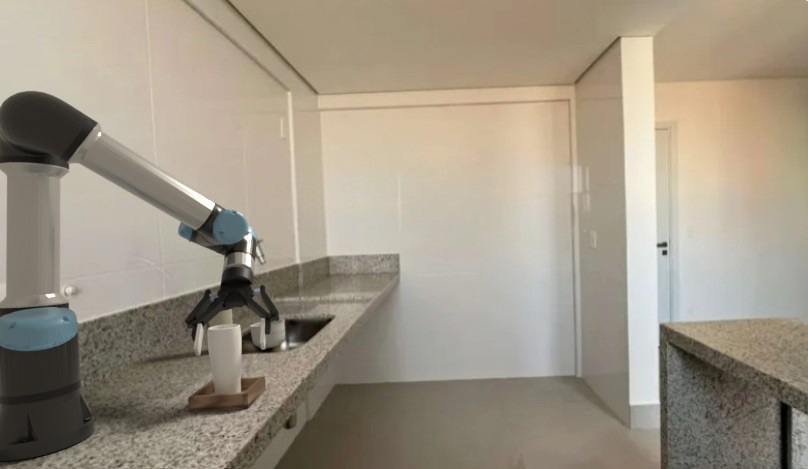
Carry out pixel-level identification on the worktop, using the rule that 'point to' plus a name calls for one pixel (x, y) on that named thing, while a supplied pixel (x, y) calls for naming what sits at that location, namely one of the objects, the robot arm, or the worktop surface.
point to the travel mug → (220, 318)
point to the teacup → (271, 339)
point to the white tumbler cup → (225, 357)
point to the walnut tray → (227, 396)
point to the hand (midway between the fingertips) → (230, 349)
